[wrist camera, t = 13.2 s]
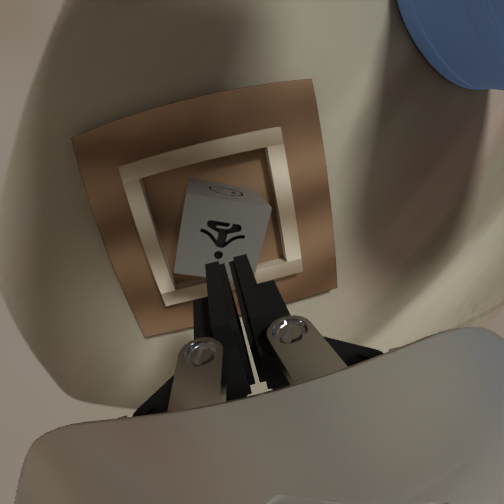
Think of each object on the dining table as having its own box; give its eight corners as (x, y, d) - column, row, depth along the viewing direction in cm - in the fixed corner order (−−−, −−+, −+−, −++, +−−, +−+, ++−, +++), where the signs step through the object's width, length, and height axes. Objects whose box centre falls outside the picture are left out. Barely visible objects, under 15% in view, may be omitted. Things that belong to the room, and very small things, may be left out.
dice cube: (256, 189, 22) (272, 208, 18) (241, 251, 24) (252, 283, 20) (188, 177, 21) (186, 193, 17) (177, 242, 23) (173, 273, 18)
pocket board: (75, 136, 19) (65, 138, 17) (307, 80, 20) (316, 77, 19) (146, 330, 27) (144, 343, 25) (333, 282, 28) (341, 293, 26)
